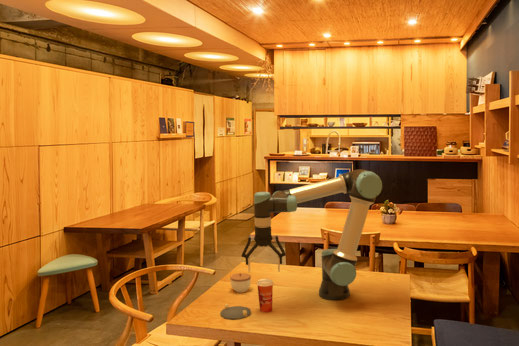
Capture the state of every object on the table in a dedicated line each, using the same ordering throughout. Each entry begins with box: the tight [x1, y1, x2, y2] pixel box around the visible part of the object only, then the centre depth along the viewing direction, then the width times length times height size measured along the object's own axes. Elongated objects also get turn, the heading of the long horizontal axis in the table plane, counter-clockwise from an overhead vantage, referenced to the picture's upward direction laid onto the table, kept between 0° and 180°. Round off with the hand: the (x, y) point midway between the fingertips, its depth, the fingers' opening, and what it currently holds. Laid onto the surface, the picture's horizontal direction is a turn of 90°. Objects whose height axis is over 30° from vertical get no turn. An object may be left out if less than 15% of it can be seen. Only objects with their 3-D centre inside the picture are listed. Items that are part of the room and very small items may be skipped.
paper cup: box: [256, 278, 274, 313], centre depth 235 cm, size 8×8×14 cm
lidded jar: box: [229, 272, 252, 294], centre depth 264 cm, size 11×11×9 cm
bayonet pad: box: [220, 303, 252, 321], centre depth 233 cm, size 14×14×3 cm
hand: (264, 271), depth 234 cm, fingers open, 13 cm apart
